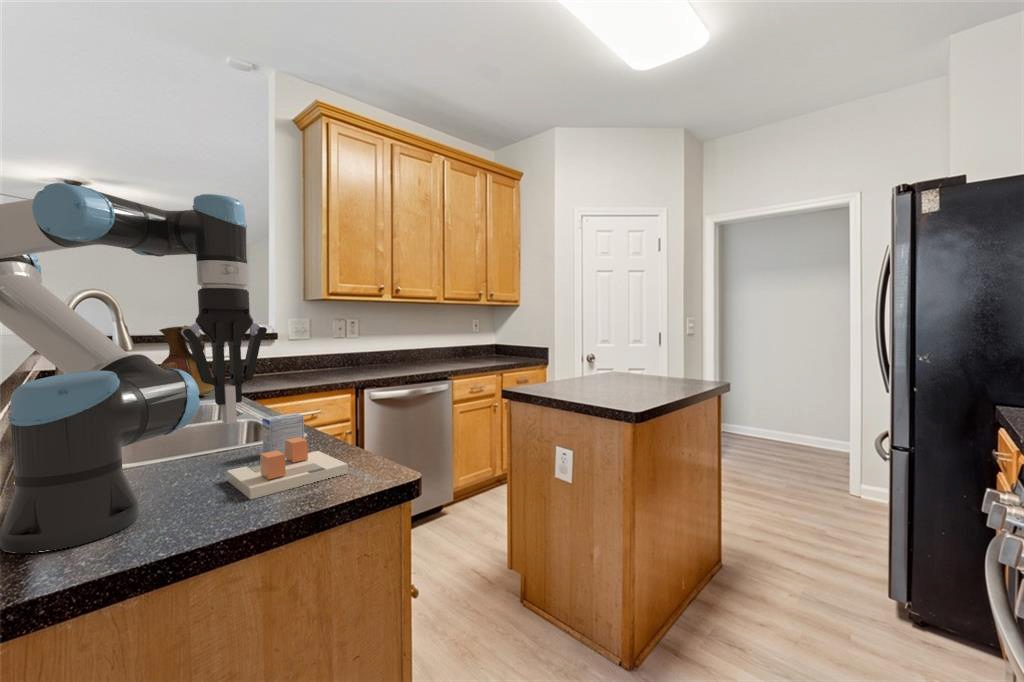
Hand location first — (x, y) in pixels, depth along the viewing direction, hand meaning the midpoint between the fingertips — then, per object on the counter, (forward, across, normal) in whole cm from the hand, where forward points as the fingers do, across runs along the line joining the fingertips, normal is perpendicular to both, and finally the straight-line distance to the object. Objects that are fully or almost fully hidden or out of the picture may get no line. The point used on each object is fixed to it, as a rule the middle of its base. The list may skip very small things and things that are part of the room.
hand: (229, 422), depth 80 cm
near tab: (+12, +7, 0) cm, 13 cm away
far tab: (+12, +14, +7) cm, 19 cm away
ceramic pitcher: (+13, +19, +135) cm, 137 cm away
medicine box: (+14, +17, +23) cm, 31 cm away
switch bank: (+14, +11, +4) cm, 18 cm away
